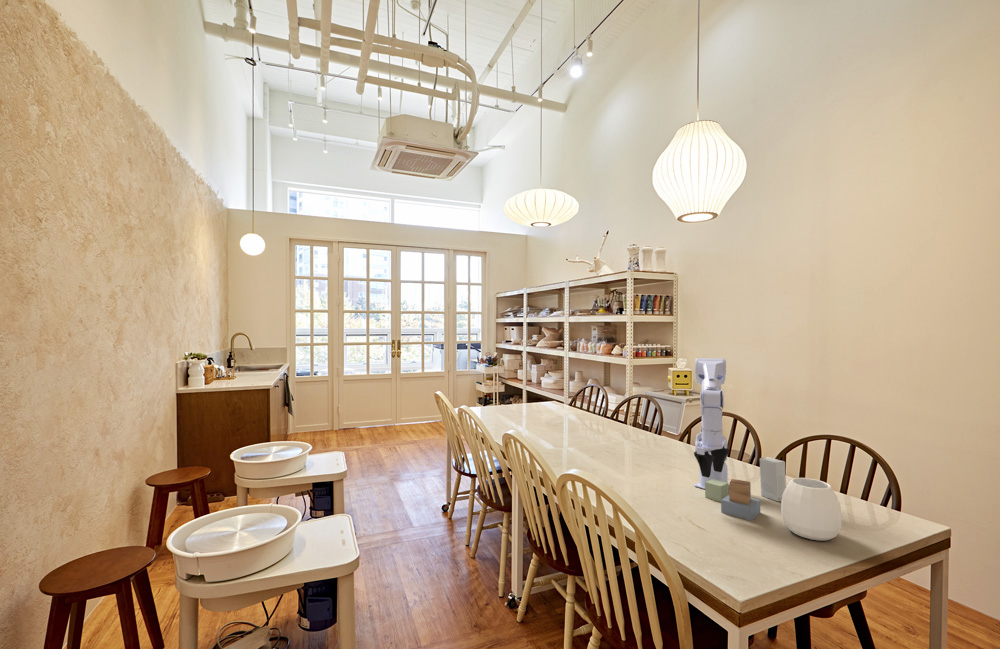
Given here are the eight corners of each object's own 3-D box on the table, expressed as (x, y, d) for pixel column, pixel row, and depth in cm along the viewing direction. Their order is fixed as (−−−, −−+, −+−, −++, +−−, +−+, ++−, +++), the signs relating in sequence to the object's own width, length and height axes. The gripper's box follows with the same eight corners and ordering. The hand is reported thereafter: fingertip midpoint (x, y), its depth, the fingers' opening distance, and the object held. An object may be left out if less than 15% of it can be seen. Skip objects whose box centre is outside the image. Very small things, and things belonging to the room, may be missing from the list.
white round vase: (844, 551, 112) (844, 495, 112) (780, 538, 119) (780, 485, 119) (839, 530, 124) (839, 480, 124) (781, 519, 131) (781, 471, 131)
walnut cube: (731, 495, 139) (731, 478, 139) (750, 498, 136) (750, 481, 136) (729, 500, 135) (729, 483, 135) (748, 504, 132) (748, 486, 132)
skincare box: (787, 500, 145) (786, 461, 145) (776, 502, 144) (776, 463, 144) (769, 493, 151) (769, 456, 151) (759, 495, 149) (759, 457, 149)
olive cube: (713, 494, 151) (713, 478, 151) (728, 498, 147) (728, 482, 147) (705, 497, 148) (705, 482, 148) (720, 502, 144) (720, 486, 144)
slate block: (731, 506, 141) (731, 493, 141) (760, 513, 135) (760, 500, 135) (721, 513, 136) (721, 499, 136) (750, 521, 130) (750, 507, 130)
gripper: (710, 424, 149) (710, 466, 149) (687, 430, 140) (687, 475, 140) (732, 427, 144) (733, 471, 144) (710, 435, 135) (710, 481, 135)
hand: (711, 474), depth 142 cm, fingers open, 7 cm apart
